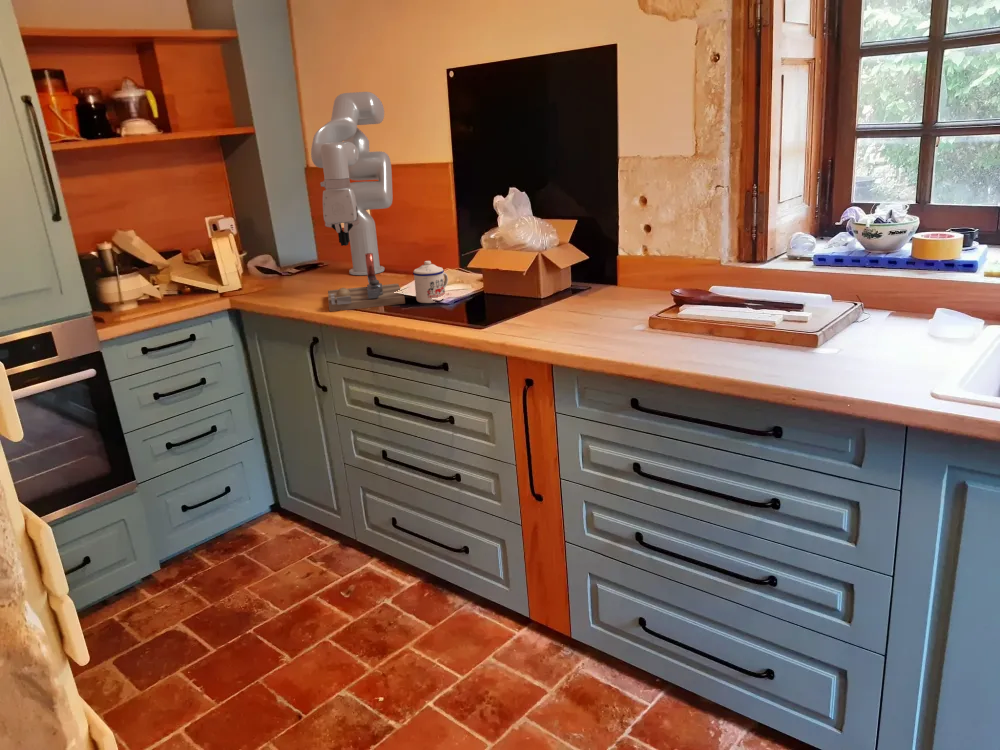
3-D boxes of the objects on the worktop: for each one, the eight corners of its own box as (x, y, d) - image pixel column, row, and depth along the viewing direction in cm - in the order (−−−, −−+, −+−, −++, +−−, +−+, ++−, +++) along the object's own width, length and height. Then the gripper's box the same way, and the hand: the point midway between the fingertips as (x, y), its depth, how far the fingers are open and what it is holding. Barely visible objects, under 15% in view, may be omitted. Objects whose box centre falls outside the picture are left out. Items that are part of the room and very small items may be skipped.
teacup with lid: (430, 304, 220) (426, 265, 216) (409, 301, 226) (405, 262, 222) (459, 296, 228) (456, 258, 224) (438, 293, 234) (435, 255, 230)
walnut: (337, 300, 223) (335, 287, 222) (350, 299, 224) (349, 285, 223) (337, 303, 219) (335, 290, 218) (351, 302, 220) (349, 288, 219)
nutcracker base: (328, 296, 238) (326, 277, 236) (398, 289, 242) (396, 270, 240) (329, 312, 218) (326, 291, 216) (405, 304, 222) (403, 283, 220)
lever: (364, 283, 242) (360, 253, 239) (378, 282, 243) (375, 252, 240) (368, 298, 221) (364, 266, 218) (384, 297, 222) (381, 264, 219)
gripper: (310, 187, 228) (318, 248, 234) (358, 184, 227) (365, 245, 233) (317, 185, 236) (324, 244, 241) (364, 182, 235) (370, 242, 240)
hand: (344, 244), depth 237 cm, fingers closed
